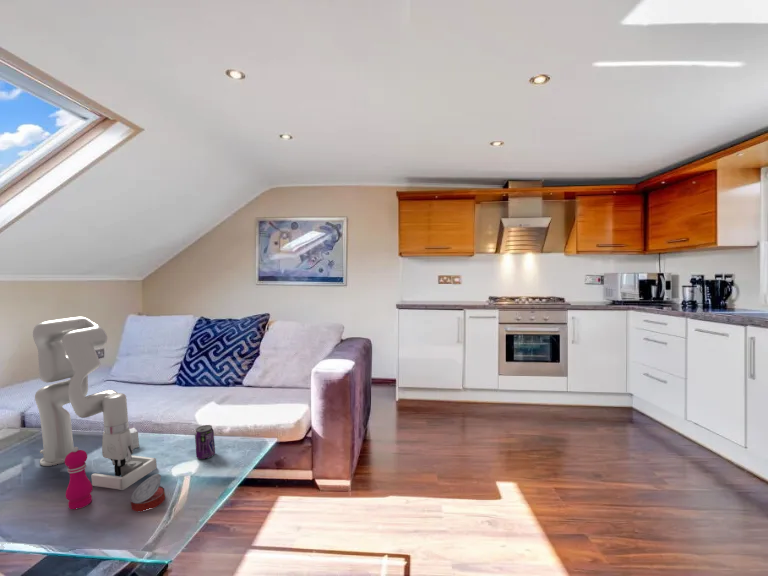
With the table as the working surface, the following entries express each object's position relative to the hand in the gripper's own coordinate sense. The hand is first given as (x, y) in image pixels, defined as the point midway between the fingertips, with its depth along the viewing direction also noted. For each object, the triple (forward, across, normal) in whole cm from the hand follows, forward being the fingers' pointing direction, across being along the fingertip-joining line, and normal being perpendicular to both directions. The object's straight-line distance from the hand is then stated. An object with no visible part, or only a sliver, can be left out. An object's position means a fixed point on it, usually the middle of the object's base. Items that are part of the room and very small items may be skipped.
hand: (120, 474), depth 150 cm
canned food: (+1, +24, -11) cm, 26 cm away
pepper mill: (+1, +1, -17) cm, 17 cm away
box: (+1, +2, 0) cm, 2 cm away
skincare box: (+1, -17, +20) cm, 26 cm away
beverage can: (+1, +22, +20) cm, 30 cm away
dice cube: (+1, +5, 0) cm, 5 cm away
